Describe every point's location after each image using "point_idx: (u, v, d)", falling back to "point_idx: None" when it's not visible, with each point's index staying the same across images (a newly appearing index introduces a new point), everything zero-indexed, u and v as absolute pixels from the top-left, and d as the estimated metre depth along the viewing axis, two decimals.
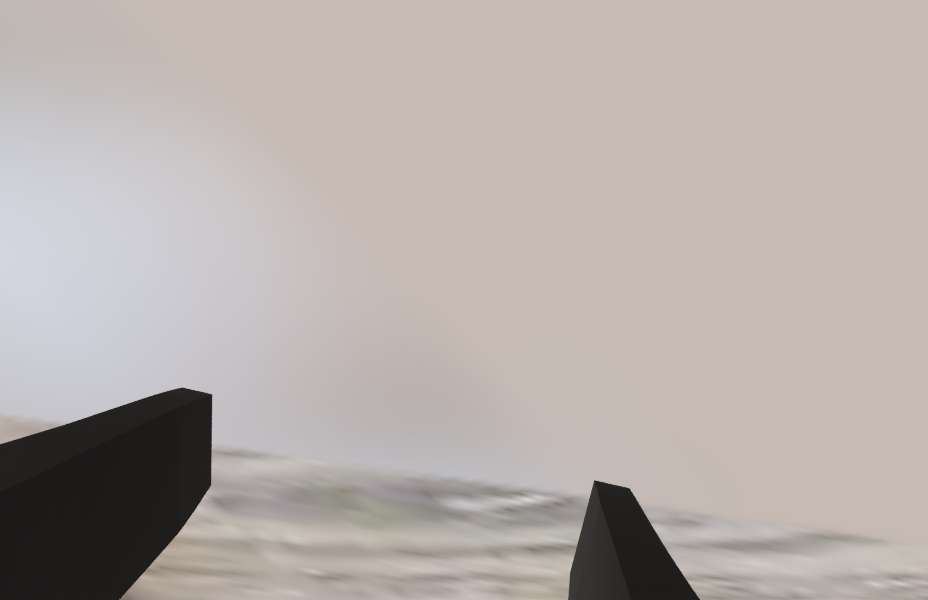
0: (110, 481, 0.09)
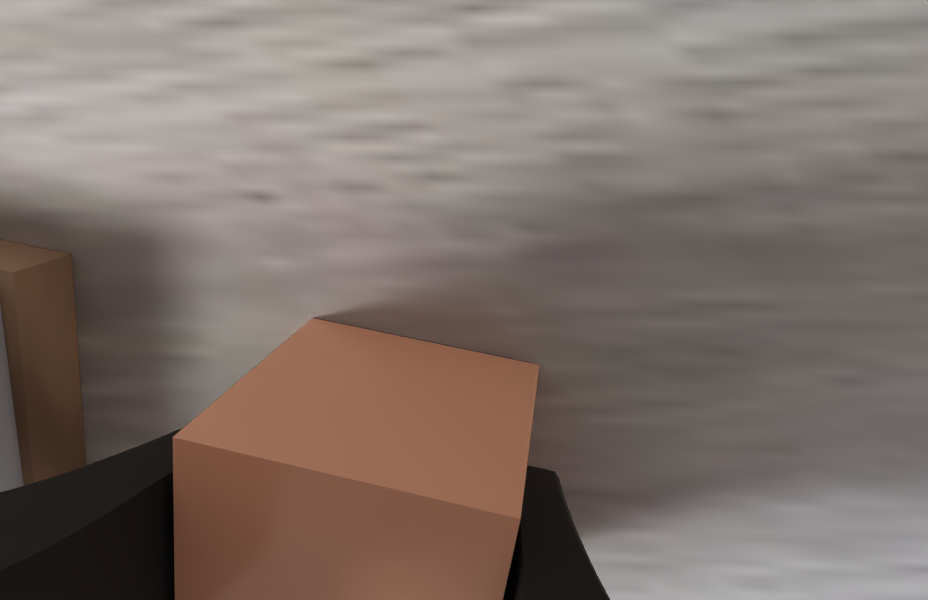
0: None
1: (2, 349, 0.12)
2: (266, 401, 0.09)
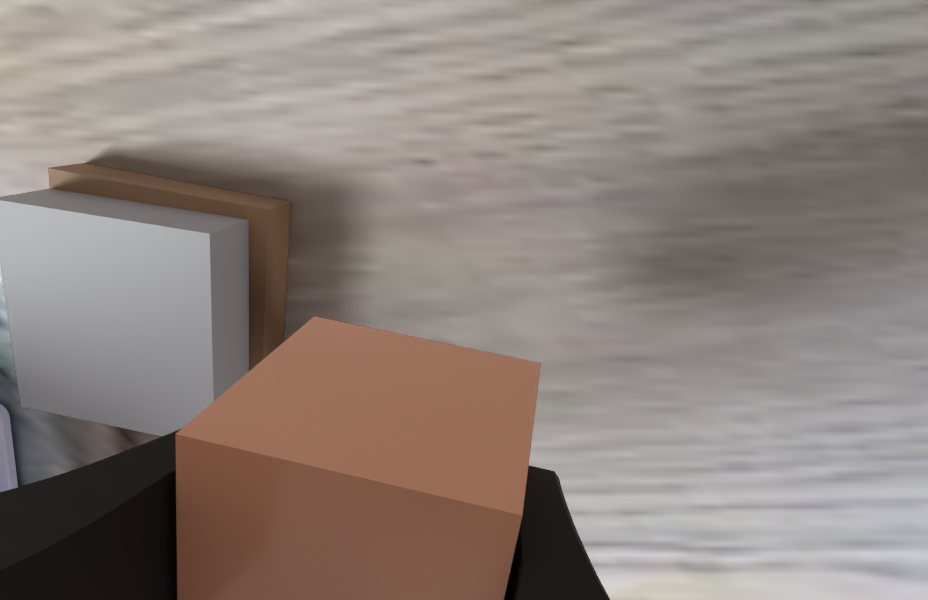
0: None
1: (245, 262, 0.18)
2: (268, 398, 0.09)
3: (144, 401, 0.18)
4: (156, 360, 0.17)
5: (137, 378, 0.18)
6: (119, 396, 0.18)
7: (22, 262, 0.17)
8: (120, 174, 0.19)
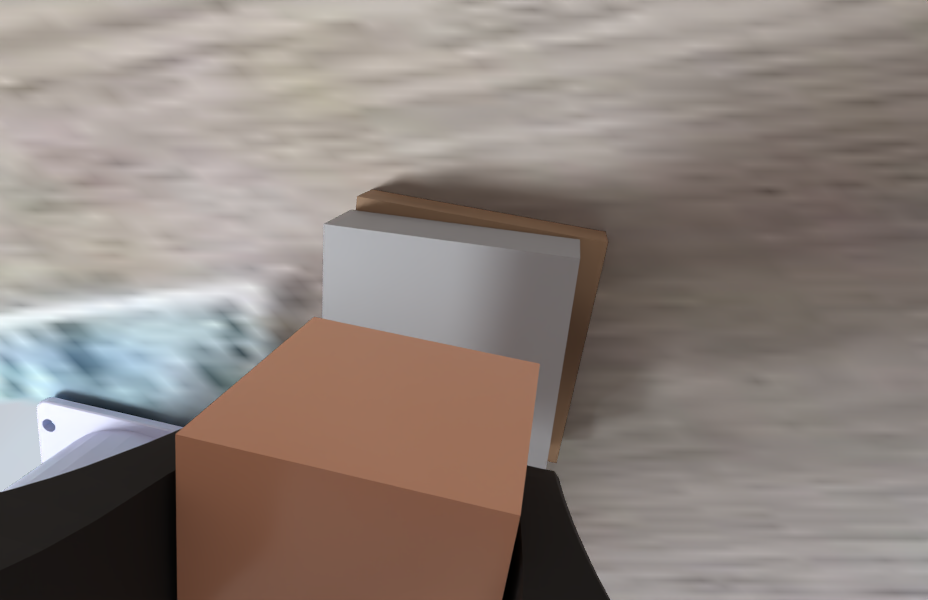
0: None
1: None
2: (268, 399, 0.09)
3: None
4: None
5: None
6: None
7: (349, 291, 0.16)
8: (424, 202, 0.18)
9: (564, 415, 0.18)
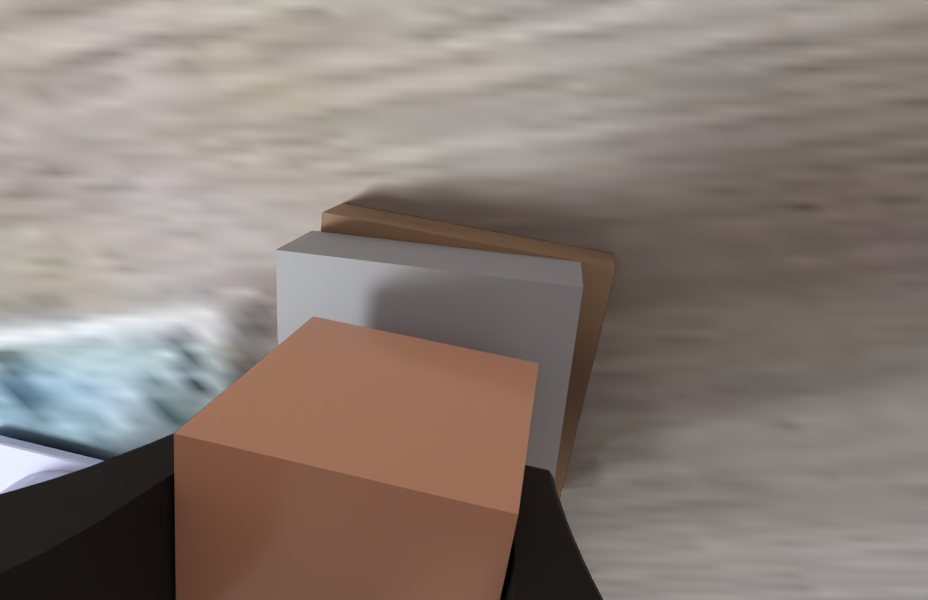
0: None
1: None
2: (267, 398, 0.09)
3: None
4: None
5: None
6: None
7: None
8: (401, 218, 0.15)
9: (564, 466, 0.16)
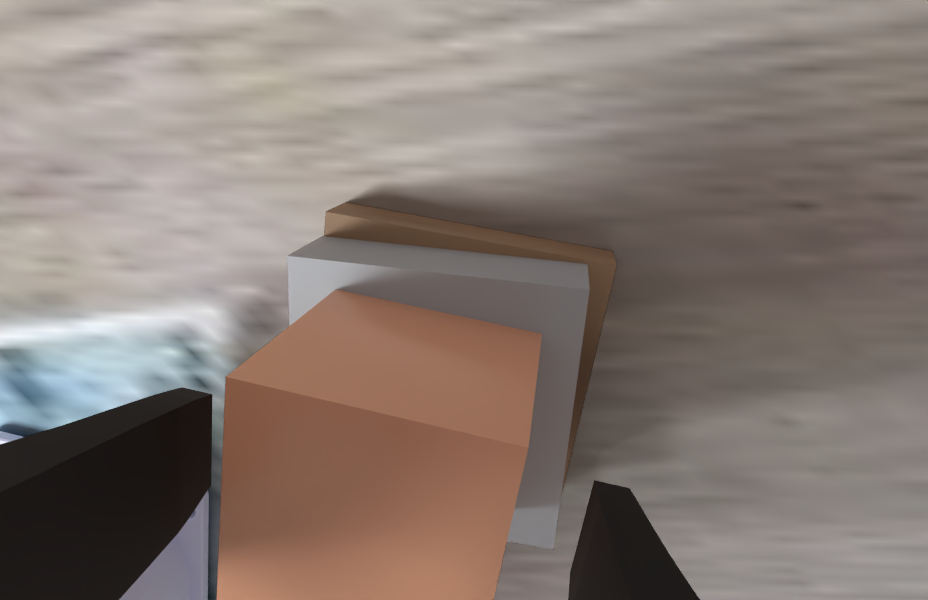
0: (110, 481, 0.09)
1: None
2: (303, 353, 0.10)
3: None
4: None
5: None
6: None
7: None
8: (403, 217, 0.15)
9: (566, 461, 0.16)
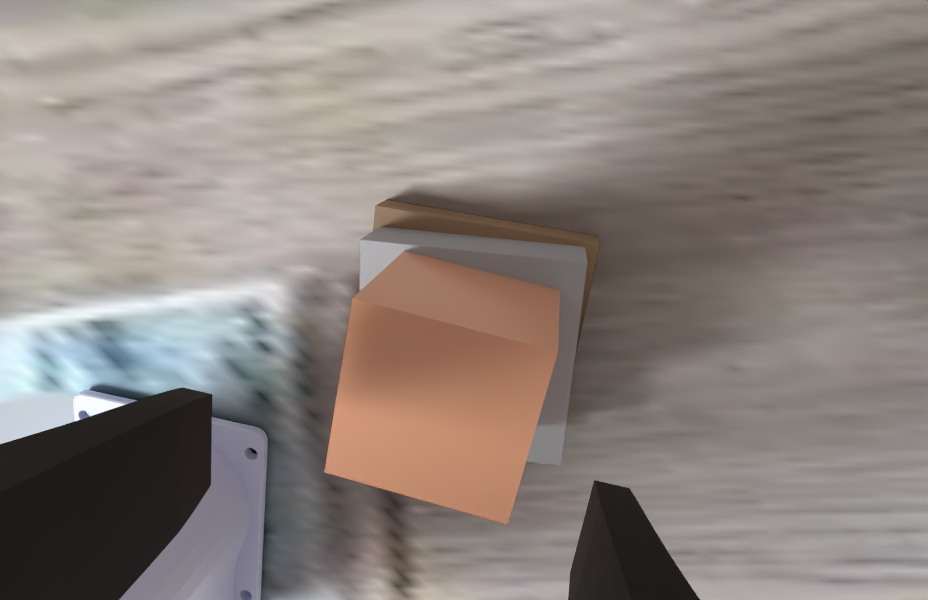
0: (110, 481, 0.09)
1: None
2: (396, 288, 0.14)
3: None
4: None
5: None
6: None
7: None
8: (434, 210, 0.20)
9: None
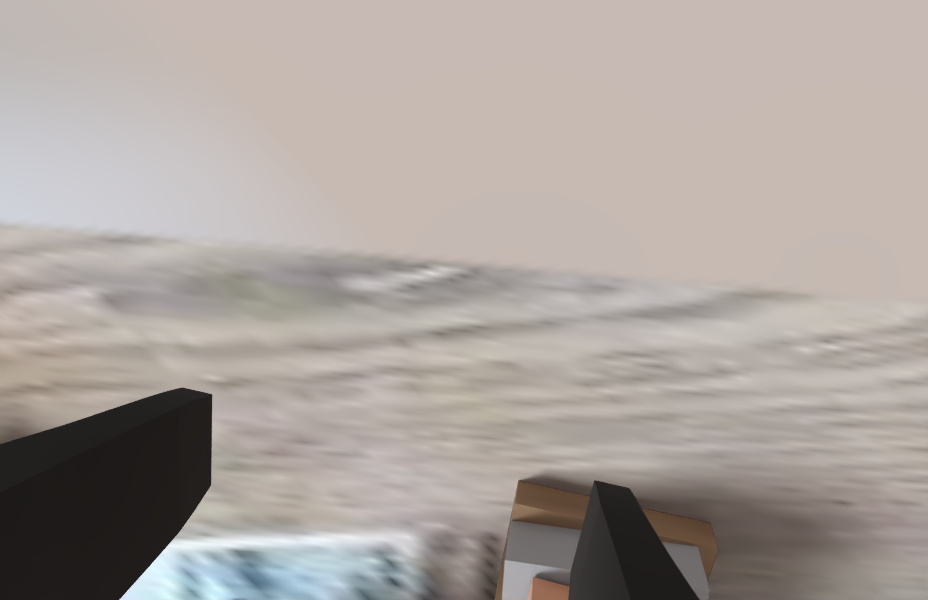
0: (110, 481, 0.09)
1: None
2: None
3: None
4: None
5: None
6: None
7: None
8: (564, 499, 0.22)
9: None
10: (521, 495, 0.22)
